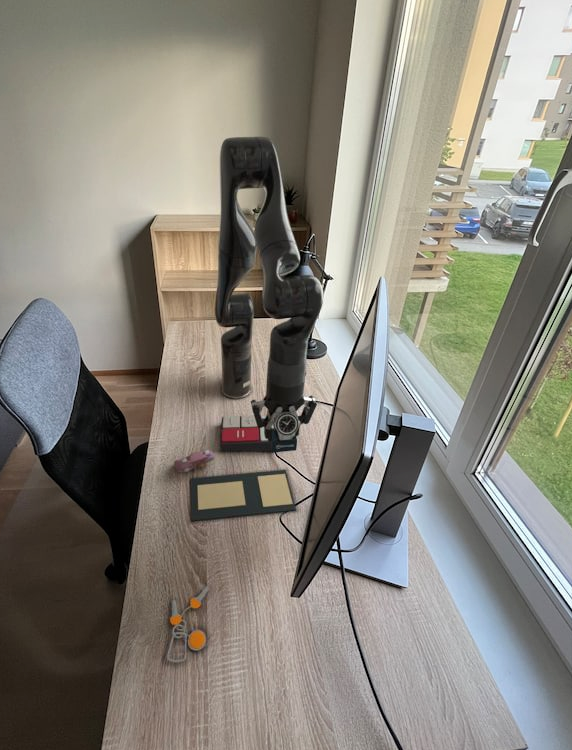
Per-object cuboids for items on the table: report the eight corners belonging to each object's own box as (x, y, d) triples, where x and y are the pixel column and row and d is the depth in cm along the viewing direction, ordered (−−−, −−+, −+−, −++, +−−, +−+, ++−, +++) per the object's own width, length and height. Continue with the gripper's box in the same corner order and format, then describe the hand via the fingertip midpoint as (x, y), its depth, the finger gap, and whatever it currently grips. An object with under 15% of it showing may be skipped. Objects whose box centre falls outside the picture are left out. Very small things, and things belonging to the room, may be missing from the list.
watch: (273, 459, 86) (275, 421, 80) (266, 433, 93) (268, 396, 86) (298, 456, 87) (303, 418, 80) (290, 431, 93) (294, 394, 87)
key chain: (203, 664, 67) (203, 662, 67) (160, 662, 68) (160, 660, 67) (211, 587, 78) (211, 585, 78) (174, 586, 78) (173, 584, 78)
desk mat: (191, 479, 100) (191, 477, 100) (285, 470, 103) (285, 469, 102) (191, 521, 90) (191, 519, 90) (296, 510, 93) (296, 508, 92)
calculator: (221, 414, 115) (273, 412, 114) (222, 425, 117) (273, 423, 117) (219, 441, 106) (276, 440, 105) (220, 453, 108) (276, 451, 108)
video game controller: (178, 479, 102) (180, 471, 96) (172, 463, 104) (174, 454, 98) (214, 466, 106) (218, 457, 100) (207, 450, 107) (211, 441, 101)
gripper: (316, 361, 83) (308, 423, 92) (247, 366, 81) (246, 428, 91) (326, 383, 76) (317, 446, 86) (252, 388, 75) (251, 452, 84)
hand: (280, 437), depth 88 cm, fingers closed on watch, 4 cm apart
